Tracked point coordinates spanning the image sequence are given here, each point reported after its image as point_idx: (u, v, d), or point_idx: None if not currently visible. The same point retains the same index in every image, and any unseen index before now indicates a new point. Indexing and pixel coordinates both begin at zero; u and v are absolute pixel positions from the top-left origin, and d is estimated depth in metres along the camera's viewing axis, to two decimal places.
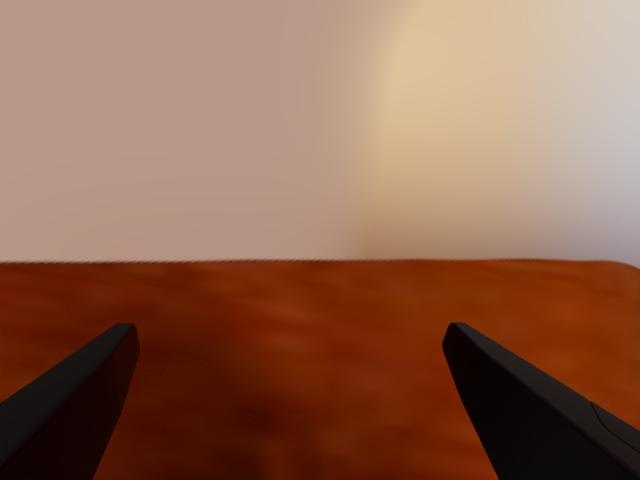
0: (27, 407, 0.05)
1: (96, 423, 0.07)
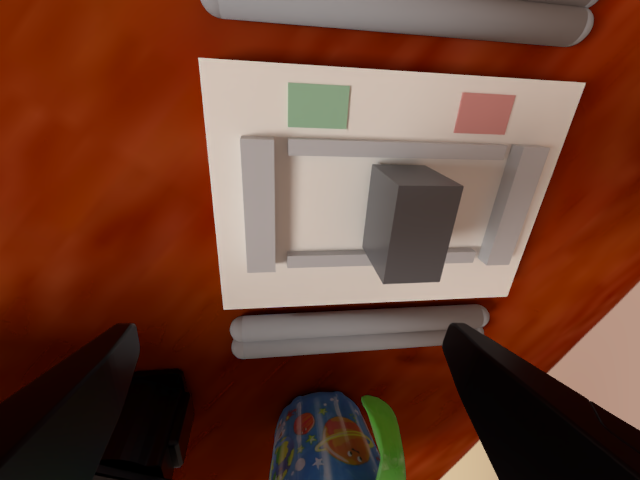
0: (27, 407, 0.05)
1: (96, 423, 0.07)
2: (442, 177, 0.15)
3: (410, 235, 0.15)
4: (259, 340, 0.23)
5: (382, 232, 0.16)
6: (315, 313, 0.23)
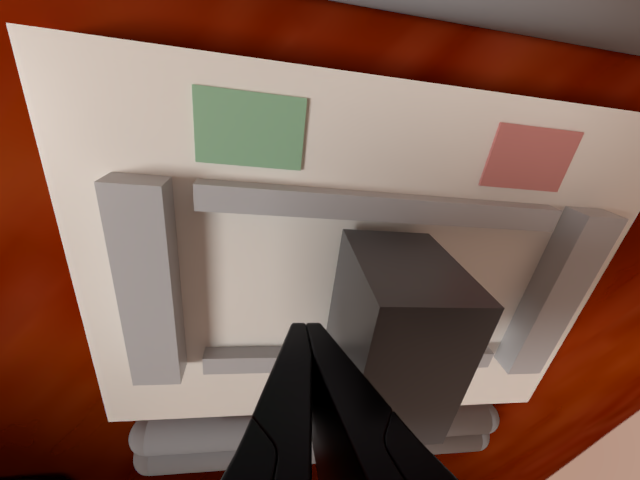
0: (288, 396, 0.06)
1: None
2: (461, 274, 0.09)
3: (398, 384, 0.08)
4: None
5: None
6: None
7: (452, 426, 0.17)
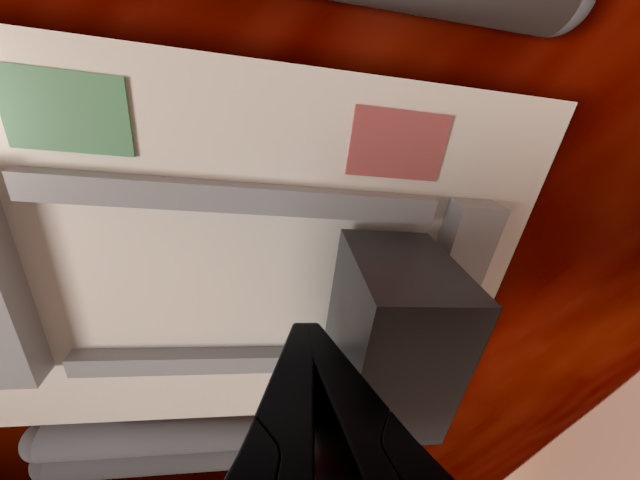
0: (291, 396, 0.06)
1: None
2: (459, 274, 0.09)
3: (395, 384, 0.08)
4: None
5: None
6: None
7: None
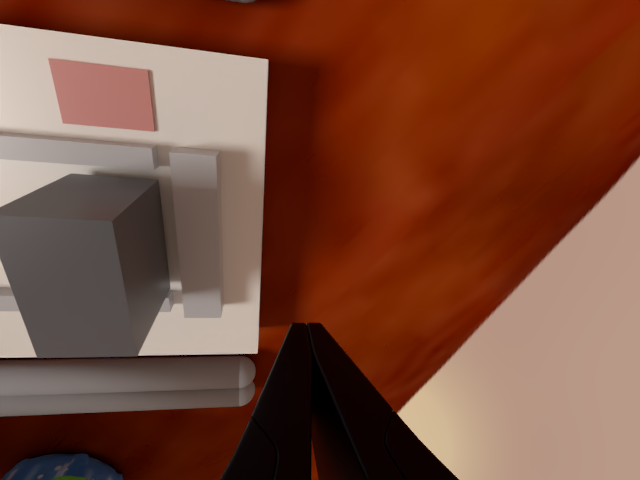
0: (288, 396, 0.06)
1: None
2: (122, 202, 0.10)
3: (50, 292, 0.09)
4: None
5: None
6: None
7: (194, 378, 0.18)
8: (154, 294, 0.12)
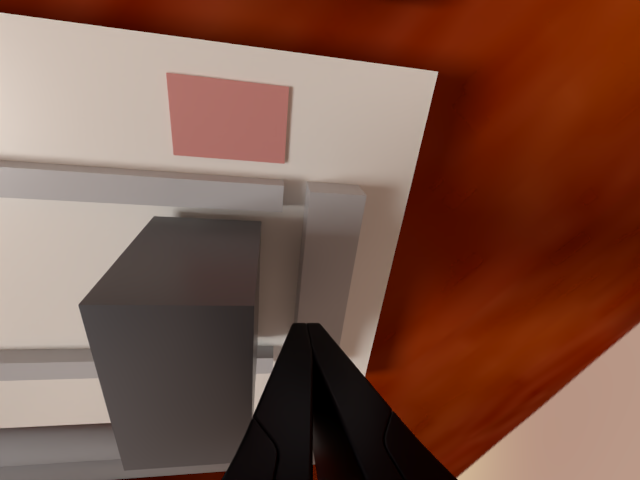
0: (289, 396, 0.06)
1: None
2: (244, 266, 0.07)
3: (154, 395, 0.07)
4: None
5: None
6: None
7: None
8: (255, 367, 0.10)
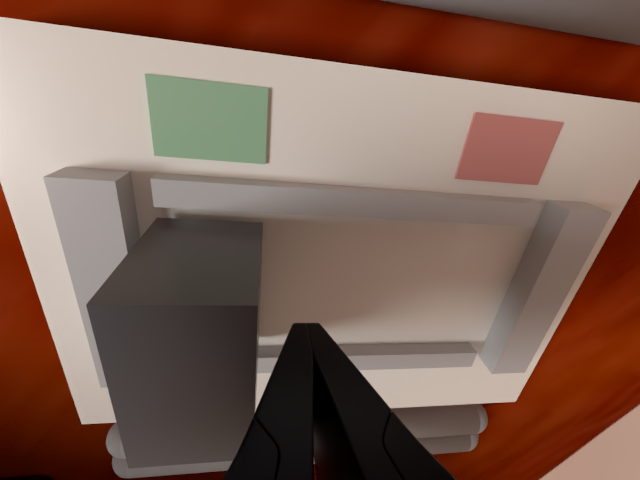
0: (290, 396, 0.06)
1: None
2: (247, 266, 0.07)
3: (159, 394, 0.07)
4: None
5: None
6: None
7: (439, 426, 0.17)
8: None
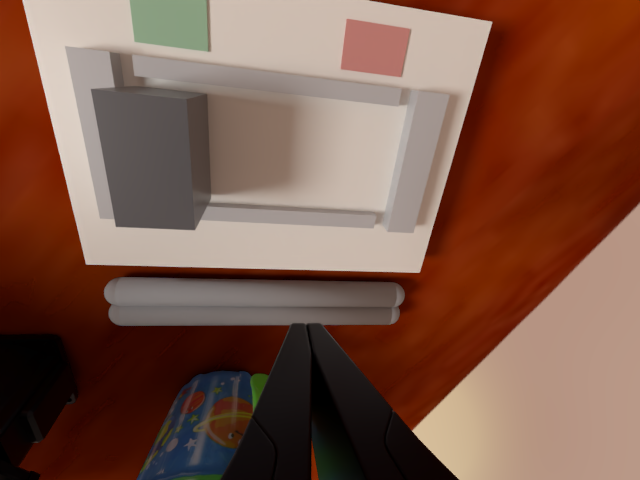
0: (288, 396, 0.06)
1: None
2: (187, 96, 0.12)
3: (132, 163, 0.12)
4: (139, 306, 0.20)
5: None
6: (206, 279, 0.21)
7: (363, 295, 0.22)
8: (203, 190, 0.15)
